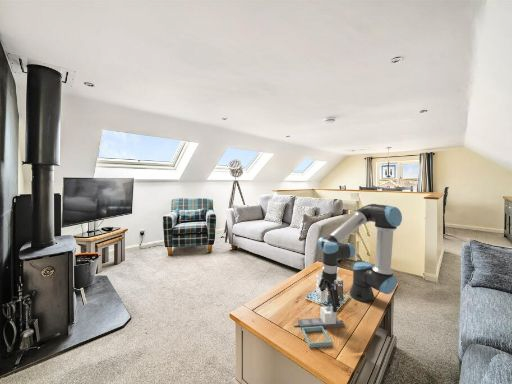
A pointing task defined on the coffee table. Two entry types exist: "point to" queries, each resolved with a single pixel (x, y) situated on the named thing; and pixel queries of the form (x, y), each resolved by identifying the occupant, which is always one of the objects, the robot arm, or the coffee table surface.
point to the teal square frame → (316, 344)
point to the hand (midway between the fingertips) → (327, 309)
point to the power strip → (318, 323)
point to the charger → (327, 315)
